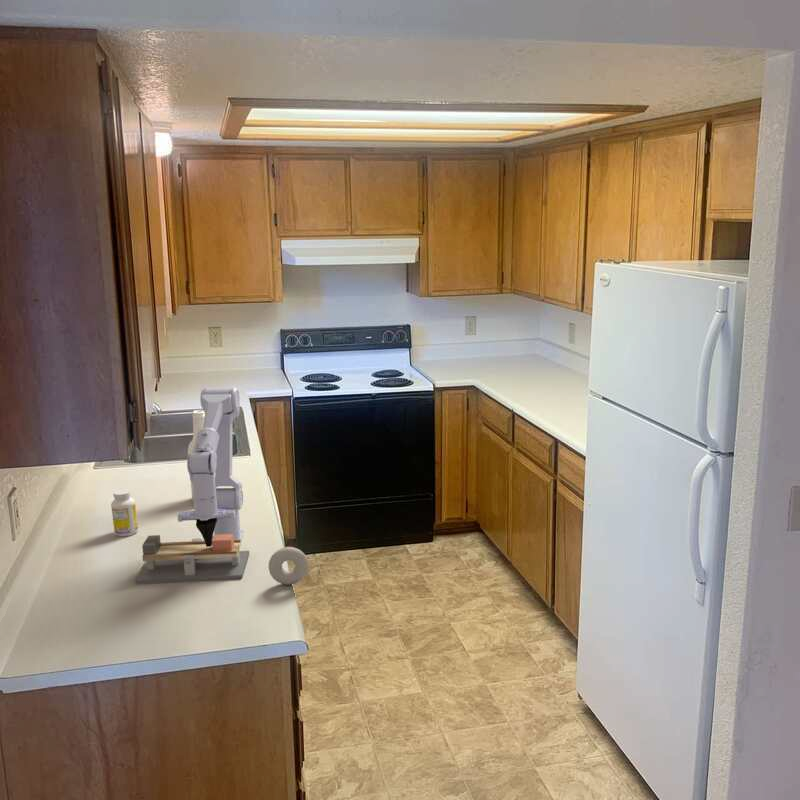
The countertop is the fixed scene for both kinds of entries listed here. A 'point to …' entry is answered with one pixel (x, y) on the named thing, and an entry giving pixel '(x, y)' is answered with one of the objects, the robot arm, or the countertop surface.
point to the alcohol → (197, 426)
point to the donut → (290, 555)
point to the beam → (183, 550)
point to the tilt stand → (193, 569)
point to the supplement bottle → (124, 513)
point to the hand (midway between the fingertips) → (209, 545)
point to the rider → (223, 542)
